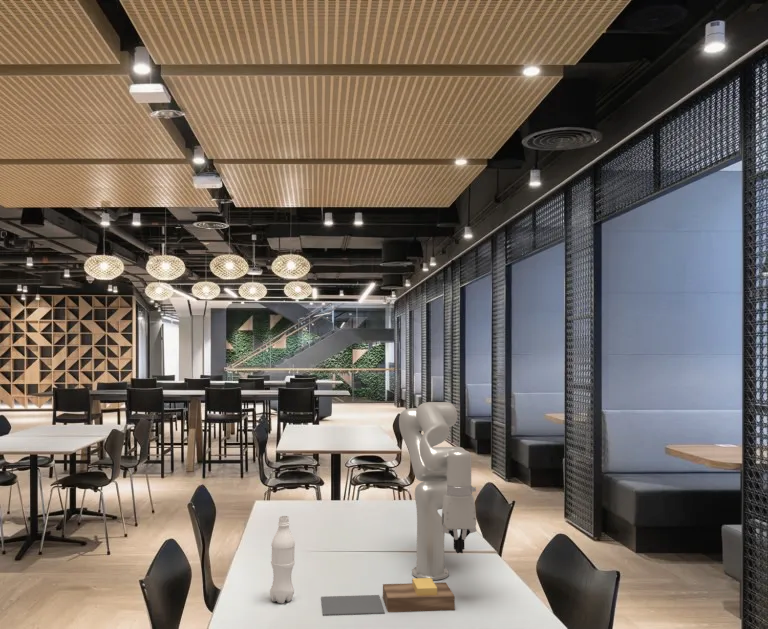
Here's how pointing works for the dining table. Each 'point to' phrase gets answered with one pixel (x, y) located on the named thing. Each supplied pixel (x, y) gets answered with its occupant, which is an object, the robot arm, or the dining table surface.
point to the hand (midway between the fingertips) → (459, 551)
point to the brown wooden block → (417, 598)
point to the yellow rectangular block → (424, 586)
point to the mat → (352, 605)
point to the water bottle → (282, 562)
